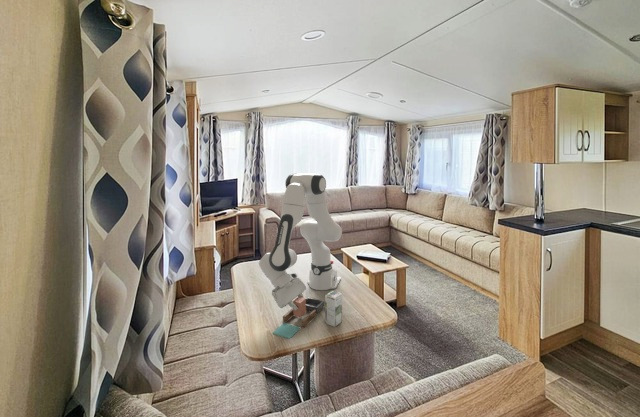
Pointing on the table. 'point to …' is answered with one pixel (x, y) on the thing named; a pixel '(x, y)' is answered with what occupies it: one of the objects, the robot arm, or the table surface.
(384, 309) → the table surface
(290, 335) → the mat
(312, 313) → the parallel wooden rails
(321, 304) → the tray
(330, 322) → the syrup box
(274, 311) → the table surface
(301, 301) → the block
